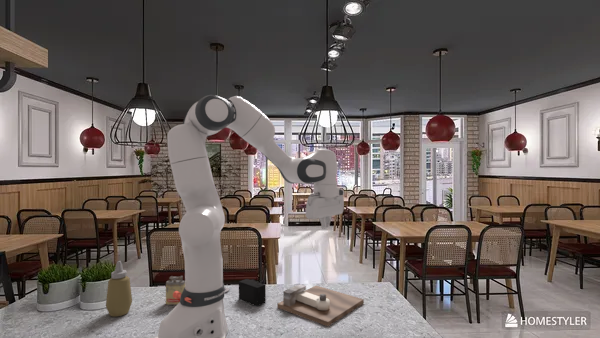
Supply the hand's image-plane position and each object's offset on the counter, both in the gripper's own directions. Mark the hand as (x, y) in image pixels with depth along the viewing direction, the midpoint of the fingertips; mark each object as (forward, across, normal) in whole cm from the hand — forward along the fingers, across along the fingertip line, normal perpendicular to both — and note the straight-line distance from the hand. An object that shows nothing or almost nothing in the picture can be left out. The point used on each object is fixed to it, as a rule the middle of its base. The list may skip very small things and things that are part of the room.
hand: (325, 228), depth 126 cm
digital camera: (+27, -18, +20) cm, 39 cm away
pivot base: (+27, -6, -2) cm, 28 cm away
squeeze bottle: (+27, -55, +48) cm, 78 cm away
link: (+25, -10, +1) cm, 27 cm away
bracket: (+28, -20, +40) cm, 53 cm away
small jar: (+27, -38, +41) cm, 62 cm away
